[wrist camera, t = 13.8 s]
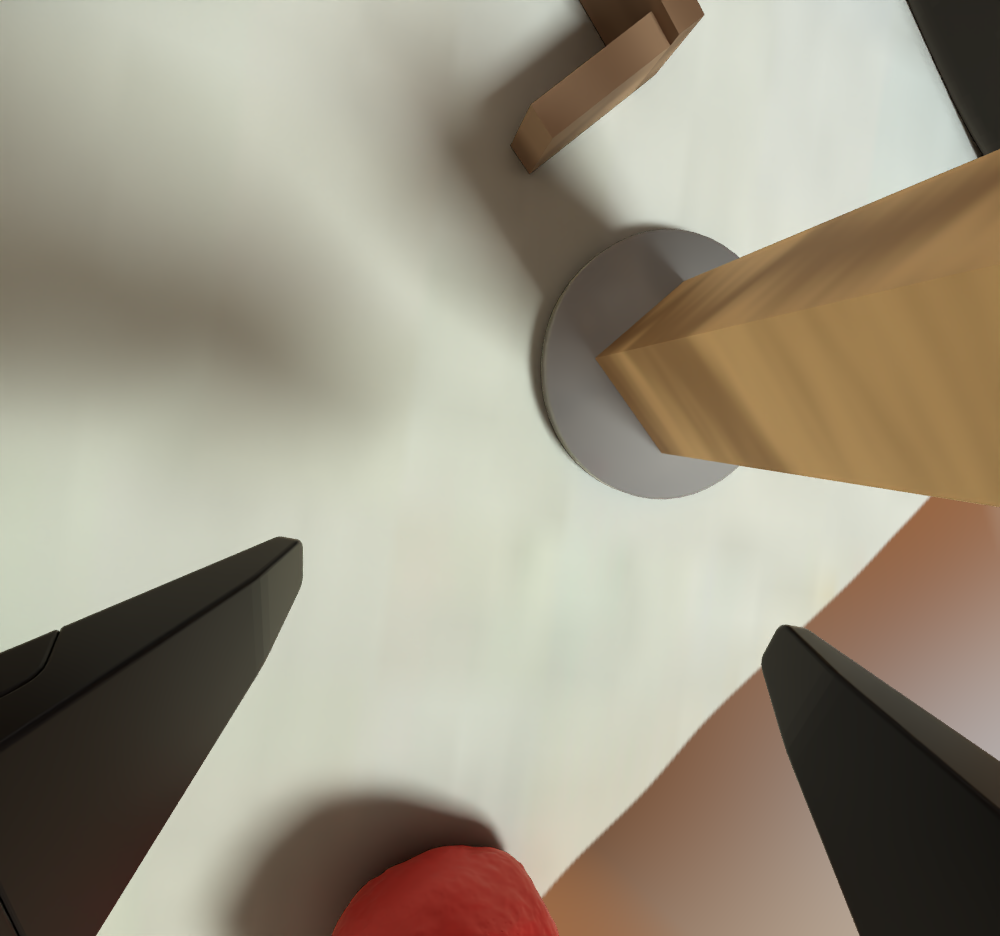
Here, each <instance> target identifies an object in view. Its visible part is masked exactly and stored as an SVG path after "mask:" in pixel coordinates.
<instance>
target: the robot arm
mask: <svg viewBox="0 0 1000 936" xmlns="http://www.w3.org/2000/svg"><path fill="white" fill-rule="evenodd" d="M302 579H303V546H302V543H301V541H300V540H298V539H292V538H287V537H275V538H273V539H271V540H268V541H266V542H263V543H261V544H259V545H256V546H254V547H252V548H249V549H247V550H244V551H242V552H240V553H237V554H235V555H233V556H230V557H228V558H225V559H223V560H221V561H218V562H216V563H214V564H211V565H209V566H206V567H204V568H202V569H199V570H197V571H195V572H192V573H190V574H187V575H185V576H183V577H180V578H178V579H176V580H173V581H171V582H168V583H166V584H164V585H161V586H159V587H157V588H154V589H152V590H149V591H147V592H145V593H142V594H140V595H138V596H135V597H133V598H130V599H128V600H126V601H123V602H121V603H119V604H116V605H114V606H111V607H109V608H107V609H104V610H102V611H99V612H97V613H95V614H92V615H90V616H88V617H85V618H83V619H80V620H78V621H76V622H73V623H71V624H69V625H66V626H64V627H62V628H61V630H60V632H59V631H58V630H54V631H52V632H49V633H47V634H45V635H42V636H40V637H37V638H35V639H33V640H30V641H28V642H26V643H23V644H21V645H18V646H16V647H13V648H11V649H8V650H6V651H3V652H1V653H0V936H96V935H97V933H98V932H99V930H100V928H101V927H102V925H103V924H104V922H105V920H106V919H107V917H108V915H109V914H110V912H111V911H112V909H113V907H114V906H115V904H116V903H117V901H118V899H119V898H120V896H121V894H122V893H123V891H124V890H125V888H126V886H127V885H128V883H129V882H130V880H131V878H132V877H133V875H134V873H135V872H136V870H137V869H138V867H139V865H140V864H141V862H142V861H143V859H144V857H145V856H146V854H147V852H148V851H149V849H150V848H151V846H152V844H153V843H154V841H155V839H156V838H157V836H158V835H159V833H160V831H161V830H162V828H163V827H164V825H165V823H166V822H167V820H168V818H169V817H170V815H171V814H172V812H173V810H174V809H175V807H176V806H177V804H178V802H179V801H180V799H181V797H182V796H183V794H184V793H185V791H186V789H187V788H188V786H189V785H190V783H191V781H192V780H193V778H194V776H195V775H196V773H197V772H198V770H199V768H200V767H201V765H202V764H203V762H204V760H205V759H206V757H207V755H208V754H209V752H210V751H211V749H212V747H213V746H214V744H215V743H216V741H217V739H218V738H219V736H220V734H221V733H222V731H223V730H224V728H225V726H226V725H227V723H228V722H229V720H230V718H231V717H232V715H233V713H234V712H235V710H236V709H237V707H238V705H239V704H240V702H241V700H242V699H243V697H244V696H245V694H246V692H247V691H248V689H249V688H250V686H251V684H252V683H253V681H254V679H255V678H256V676H257V675H258V673H259V671H260V669H261V668H262V666H263V664H264V662H265V661H266V659H267V657H268V655H269V653H270V651H271V649H272V646H273V644H274V642H275V640H276V638H277V636H278V634H279V632H280V630H281V628H282V625H283V623H284V621H285V619H286V617H287V615H288V613H289V611H290V609H291V607H292V604H293V602H294V600H295V598H296V596H297V594H298V592H299V590H300V587H301V584H302ZM761 665H762V670H763V675H764V678H765V681H766V685H767V688H768V692H769V695H770V698H771V702H772V705H773V709H774V712H775V715H776V719H777V722H778V726H779V729H780V733H781V736H782V739H783V742H784V745H785V748H786V751H787V754H788V757H789V760H790V762H791V765H792V768H793V770H794V773H795V775H796V778H797V780H798V782H799V785H800V787H801V790H802V793H803V795H804V798H805V800H806V802H807V805H808V808H809V810H810V813H811V815H812V818H813V820H814V822H815V825H816V828H817V830H818V833H819V835H820V838H821V840H822V843H823V845H824V848H825V850H826V853H827V855H828V858H829V860H830V863H831V865H832V868H833V870H834V873H835V875H836V878H837V880H838V883H839V885H840V888H841V890H842V893H843V895H844V898H845V900H846V903H847V905H848V908H849V910H850V913H851V916H852V918H853V921H854V923H855V926H856V928H857V931H858V933H859V936H1000V761H998V760H997V759H996V758H994V757H993V756H991V755H990V754H988V753H987V752H985V751H984V750H982V749H981V748H980V747H978V746H976V745H975V744H974V743H972V742H971V741H969V740H968V739H966V738H965V737H963V736H962V735H961V734H959V733H958V732H956V731H955V730H953V729H952V728H950V727H949V726H948V725H946V724H945V723H943V722H942V721H940V720H939V719H937V718H936V717H934V716H933V715H932V714H930V713H928V712H927V711H926V710H924V709H923V708H921V707H920V706H918V705H917V704H915V703H914V702H913V701H911V700H910V699H908V698H906V697H905V696H904V695H902V694H901V693H899V692H898V691H896V690H895V689H894V688H892V687H891V686H889V685H888V684H886V683H885V682H883V681H882V680H881V679H879V678H877V677H876V676H875V675H873V674H872V673H870V672H869V671H867V670H866V669H865V668H863V667H862V666H860V665H859V664H857V663H856V662H854V661H853V660H851V659H850V658H849V657H847V656H846V655H844V654H842V653H841V652H840V651H838V650H837V649H835V648H834V647H832V646H831V645H829V644H828V643H827V642H825V641H824V640H822V639H821V638H819V637H818V636H816V635H815V634H814V633H812V632H811V631H809V630H807V629H805V628H803V627H797V626H791V625H781V626H780V627H779V628H778V629H777V630H776V632H775V634H774V635H773V637H772V639H771V641H770V643H769V645H768V647H767V648H766V650H765V652H764V654H763V657H762V663H761Z"/></svg>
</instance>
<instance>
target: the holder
mask: <svg viewBox="0 0 1000 936" xmlns="http://www.w3.org/2000/svg"><path fill="white" fill-rule="evenodd" d="M580 2H581V3H582V5H583V7H584V9H585V10H586V12H587V14H588V16H589V17H590V19H591V21H592V23H593V24H594V26H595V28H596V29H597V31H598V33H599V35H600V36H601V38H602V40H603V42H604V43H605V45H606V47H604V48H603V49H602V50H601V51H599V52H598V53H597V54H595V55H594V56H593V57H592V58H590V59H589V60H588V61H586V62H585V63H584V64H582V65H581V66H580V67H579V68H577V69H576V70H575V71H573V72H572V73H571V74H570V75H568V76H567V77H566V78H564V79H563V80H562V81H560V82H559V83H558V84H557V85H555V86H554V87H553V88H551V89H550V90H549V91H548V92H546V93H545V94H544V95H542V96H541V97H540V98H538V99H537V100H536V101H535V102H533V103H532V104H531V105H530V107H529V109H528V111H527V113H526V115H525V117H524V119H523V121H522V123H521V125H520V127H519V129H518V131H517V133H516V135H515V137H514V139H513V141H512V143H511V145H510V146H511V147H512V149H513V150H514V152H515V153H516V155H517V156H518V158H519V159H520V161H521V162H522V164H523V165H524V167H525V168H526V170H527V171H528V173H529V174H531V173H532V172H533V171H535V170H536V169H537V168H538V167H540V166H541V165H542V164H543V163H545V162H546V161H547V160H548V159H550V158H551V157H552V156H553V155H555V154H556V153H557V152H559V151H560V150H561V149H562V148H564V147H565V146H566V145H567V144H569V143H570V142H571V141H572V140H574V139H575V138H576V137H577V136H579V135H580V134H581V133H582V132H584V131H585V130H586V129H587V128H589V127H590V126H591V125H593V124H594V123H595V122H596V121H598V120H599V119H600V118H601V117H603V116H604V115H605V114H606V113H608V112H609V111H610V110H611V109H613V108H614V107H615V106H616V105H618V104H619V103H620V102H622V101H623V100H624V99H625V98H627V97H628V96H629V95H630V94H632V93H633V92H634V91H635V90H637V89H638V88H639V87H640V86H642V85H643V84H644V83H645V82H647V81H648V80H649V79H650V78H652V77H653V76H654V75H655V74H656V73H657V72H658V70H659V69H660V68H661V67H662V66H663V64H664V63H665V62H666V61H667V60H668V58H669V57H670V56H671V55H672V54H673V52H674V51H675V50H676V49H677V47H678V46H679V45H680V44H681V43H682V41H683V40H684V39H685V38H686V37H687V35H688V34H689V33H690V32H691V30H692V29H693V28H694V27H695V26H696V24H697V23H698V22H699V21H700V20H701V18H702V17H703V16H704V13H703V11H702V9H701V7H700V5H699V3H698V1H697V0H580Z"/></svg>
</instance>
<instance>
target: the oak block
mask: <svg viewBox="0 0 1000 936" xmlns="http://www.w3.org/2000/svg"><path fill="white" fill-rule="evenodd" d="M595 359H596V360H597V362H598V363H599V365H600V366H601V367H602V369H603V370H604V372H605V373H606V375H607V376H608V377H609V379H610V380H611V382H612V383H613V385H614V386H615V387H616V389H617V390H618V392H619V393H620V395H621V396H622V397H623V399H624V400H625V402H626V403H627V405H628V406H629V407H630V409H631V410H632V412H633V413H634V414H635V416H636V417H637V419H638V420H639V422H640V423H641V424H642V426H643V427H644V429H645V430H646V432H647V433H648V434H649V436H650V437H651V439H652V440H653V442H654V443H655V444H656V446H657V447H658V449H659V450H660V452H661V453H664V454H670V455H676V456H682V457H689V458H695V459H701V460H708V461H714V462H720V463H726V464H733V465H739V466H745V467H751V468H758V469H764V470H770V471H777V472H783V473H789V474H795V475H802V476H808V477H814V478H820V479H827V480H833V481H839V482H846V483H852V484H858V485H864V486H871V487H877V488H883V489H889V490H896V491H902V492H908V493H915V494H921V495H927V496H933V497H940V498H947V499H952V500H959V501H965V502H971V503H977V504H984V505H990V506H996V507H1000V149H999V150H996V151H994V152H992V153H989V154H987V155H985V156H982V157H980V158H977V159H975V160H973V161H970V162H968V163H965V164H963V165H961V166H958V167H956V168H953V169H951V170H949V171H946V172H944V173H941V174H939V175H937V176H934V177H932V178H930V179H927V180H925V181H922V182H920V183H918V184H915V185H913V186H910V187H908V188H906V189H903V190H901V191H898V192H896V193H894V194H891V195H889V196H886V197H884V198H882V199H879V200H877V201H875V202H872V203H870V204H867V205H865V206H863V207H860V208H858V209H855V210H853V211H851V212H848V213H846V214H843V215H841V216H839V217H836V218H834V219H831V220H829V221H827V222H824V223H822V224H819V225H817V226H815V227H812V228H810V229H808V230H805V231H803V232H800V233H798V234H796V235H793V236H791V237H788V238H786V239H784V240H781V241H779V242H776V243H774V244H772V245H769V246H767V247H764V248H762V249H760V250H757V251H755V252H753V253H750V254H748V255H745V256H743V257H741V258H738V259H736V260H733V261H731V262H729V263H726V264H724V265H721V266H719V267H717V268H714V269H712V270H709V271H707V272H705V273H702V274H700V275H698V276H695V277H693V278H690V279H688V280H686V281H684V282H682V283H681V284H680V285H679V286H678V287H677V288H675V289H674V290H673V291H672V292H671V293H670V294H669V295H667V296H666V297H665V298H664V299H663V300H662V301H660V302H659V303H658V304H657V305H656V306H655V307H654V308H652V309H651V310H650V311H649V312H648V313H647V314H645V315H644V316H643V317H642V318H641V319H640V320H638V321H637V322H636V323H635V324H634V325H633V326H632V327H630V328H629V329H628V330H627V331H626V332H625V333H623V334H622V335H621V336H620V337H619V338H618V339H617V340H615V341H614V342H613V343H612V344H611V345H610V346H608V347H607V348H606V349H605V350H604V351H603V352H602V353H600V354H599V355H598V356H597V357H596V358H595Z"/></svg>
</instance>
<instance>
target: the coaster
mask: <svg viewBox="0 0 1000 936" xmlns="http://www.w3.org/2000/svg"><path fill="white" fill-rule="evenodd" d="M738 258H739V257H738V256H737V255H736V254H735V253H733V252H732V251H731V250H729V249H728V248H726V247H725V246H724V245H722V244H720V243H718V242H716V241H715V240H713V239H711V238H709V237H706V236H703V235H700V234H697V233H694V232H689V231H684V230H675V229H661V230H652V231H646V232H643V233H639V234H636V235H632V236H630V237H628V238H626V239H623V240H621V241H619V242H617V243H615V244H614V245H612V246H611V247H609V248H608V249H606V250H605V251H603V252H602V253H600V254H599V255H597V256H596V257H594V258H593V259H592V260H591V261H590V262H588V263H587V264H586V265H585V266H584V267H583V268H582V269H581V270H580V271H579V272H578V273H577V274H576V275H575V276H574V278H573V279H572V280H571V281H570V282H569V284H568V285H567V287H566V288H565V290H564V291H563V293H562V294H561V296H560V297H559V299H558V302H557V304H556V306H555V308H554V310H553V312H552V314H551V317H550V320H549V323H548V326H547V329H546V333H545V337H544V342H543V347H542V357H541V384H542V391H543V397H544V403H545V406H546V409H547V413H548V416H549V419H550V422H551V424H552V426H553V428H554V431H555V433H556V435H557V437H558V438H559V440H560V442H561V443H562V445H563V447H564V448H565V450H566V451H567V452H568V453H569V455H570V456H571V457H572V458H573V460H574V461H575V462H576V463H577V464H578V465H579V466H580V467H581V468H582V469H583V470H585V471H586V472H587V473H588V474H589V475H591V476H592V477H594V478H595V479H597V480H598V481H599V482H601V483H603V484H605V485H607V486H609V487H611V488H614V489H616V490H619V491H622V492H625V493H628V494H631V495H634V496H638V497H644V498H649V499H672V498H680V497H684V496H688V495H692V494H695V493H698V492H700V491H702V490H705V489H707V488H709V487H711V486H713V485H714V484H716V483H718V482H720V481H721V480H723V479H724V478H725V477H726V476H728V475H729V474H730V473H732V472H733V471H734V470H735V469H736V468H737V467H738V466H739V465H733V464H726V463H720V462H714V461H708V460H701V459H695V458H689V457H682V456H676V455H670V454H664V453H661V452H660V450H659V449H658V447H657V446H656V444H655V443H654V442H653V440H652V439H651V437H650V436H649V434H648V433H647V432H646V430H645V429H644V427H643V426H642V424H641V423H640V422H639V420H638V419H637V417H636V416H635V414H634V413H633V412H632V410H631V409H630V407H629V406H628V405H627V403H626V402H625V400H624V399H623V397H622V396H621V395H620V393H619V392H618V390H617V389H616V387H615V386H614V385H613V383H612V382H611V380H610V379H609V377H608V376H607V375H606V373H605V372H604V370H603V369H602V367H601V366H600V365H599V363H598V362H597V360H596V359H595V358H596V357H597V356H598V355H599V354H600V353H602V352H603V351H604V350H605V349H606V348H607V347H608V346H610V345H611V344H612V343H613V342H614V341H615V340H617V339H618V338H619V337H620V336H621V335H622V334H623V333H625V332H626V331H627V330H628V329H629V328H630V327H632V326H633V325H634V324H635V323H636V322H637V321H638V320H640V319H641V318H642V317H643V316H644V315H645V314H647V313H648V312H649V311H650V310H651V309H652V308H654V307H655V306H656V305H657V304H658V303H659V302H660V301H662V300H663V299H664V298H665V297H666V296H667V295H669V294H670V293H671V292H672V291H673V290H674V289H675V288H677V287H678V286H679V285H680V284H681V283H682V282H684V281H686V280H688V279H690V278H693V277H695V276H698V275H700V274H702V273H705V272H707V271H709V270H712V269H714V268H717V267H719V266H721V265H724V264H726V263H729V262H731V261H733V260H736V259H738Z"/></svg>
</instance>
